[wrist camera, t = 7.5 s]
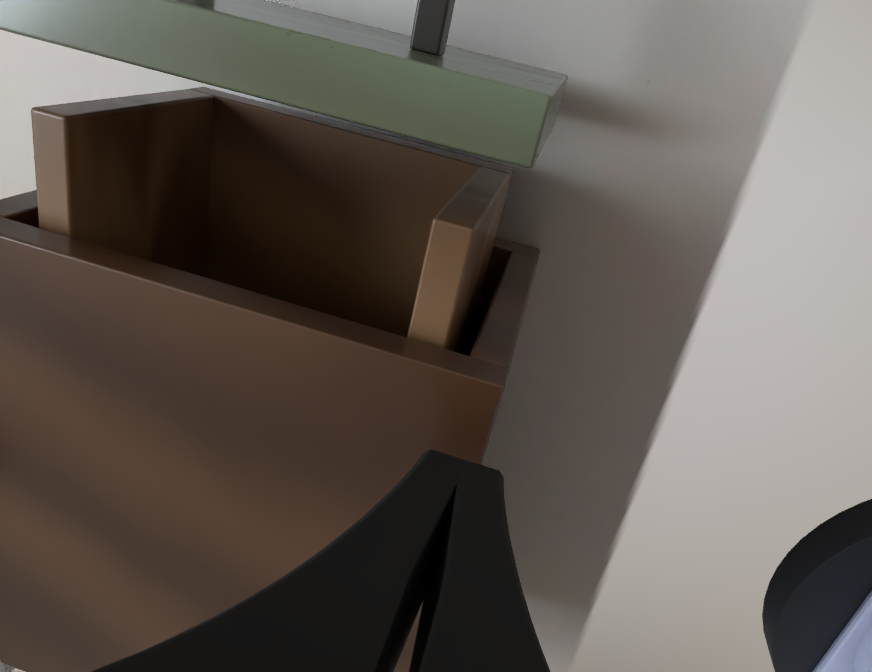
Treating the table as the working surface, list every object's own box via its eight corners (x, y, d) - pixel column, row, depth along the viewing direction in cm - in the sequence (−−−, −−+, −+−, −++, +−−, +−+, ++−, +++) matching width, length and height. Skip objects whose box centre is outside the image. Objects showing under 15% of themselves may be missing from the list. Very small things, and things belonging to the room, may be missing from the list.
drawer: (197, -230, 15) (-61, -405, 9) (629, -140, 14) (654, -273, 8) (176, 375, 23) (26, 494, 17) (457, 464, 22) (405, 626, 16)
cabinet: (182, 150, 20) (-65, 215, 13) (540, 249, 19) (504, 386, 12) (171, 483, 26) (-1, 662, 19) (442, 574, 25) (376, 806, 18)
